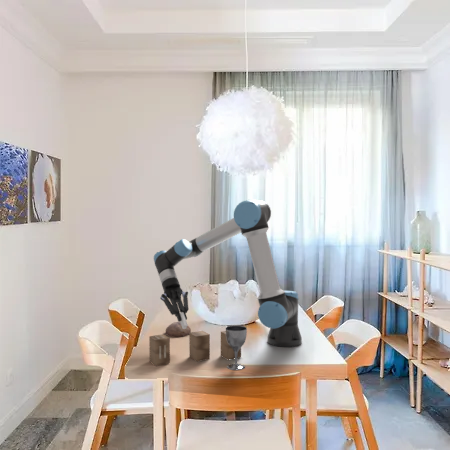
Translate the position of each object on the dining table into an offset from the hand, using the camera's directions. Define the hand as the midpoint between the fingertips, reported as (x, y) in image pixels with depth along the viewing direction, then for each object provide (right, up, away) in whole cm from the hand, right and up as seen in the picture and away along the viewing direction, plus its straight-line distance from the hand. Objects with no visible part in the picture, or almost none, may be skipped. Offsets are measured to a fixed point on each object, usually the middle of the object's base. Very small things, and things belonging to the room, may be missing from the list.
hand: (185, 327), depth 200 cm
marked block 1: (-9, -11, -15) cm, 20 cm away
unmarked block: (+7, -10, -10) cm, 16 cm away
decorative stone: (-5, -9, +25) cm, 27 cm away
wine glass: (+21, -11, -20) cm, 31 cm away
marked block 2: (+19, -10, -8) cm, 23 cm away
